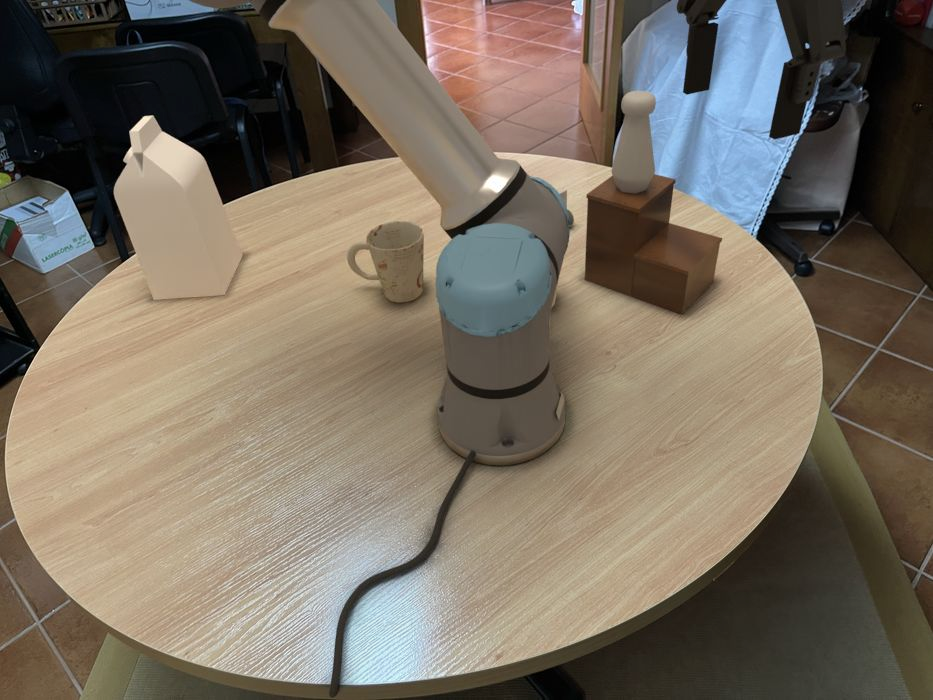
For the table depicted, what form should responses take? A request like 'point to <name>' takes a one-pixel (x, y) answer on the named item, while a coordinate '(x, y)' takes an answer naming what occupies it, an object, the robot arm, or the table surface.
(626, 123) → the salt shaker
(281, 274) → the table surface
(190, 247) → the milk
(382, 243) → the mug
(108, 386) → the table surface
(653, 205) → the step shelf
